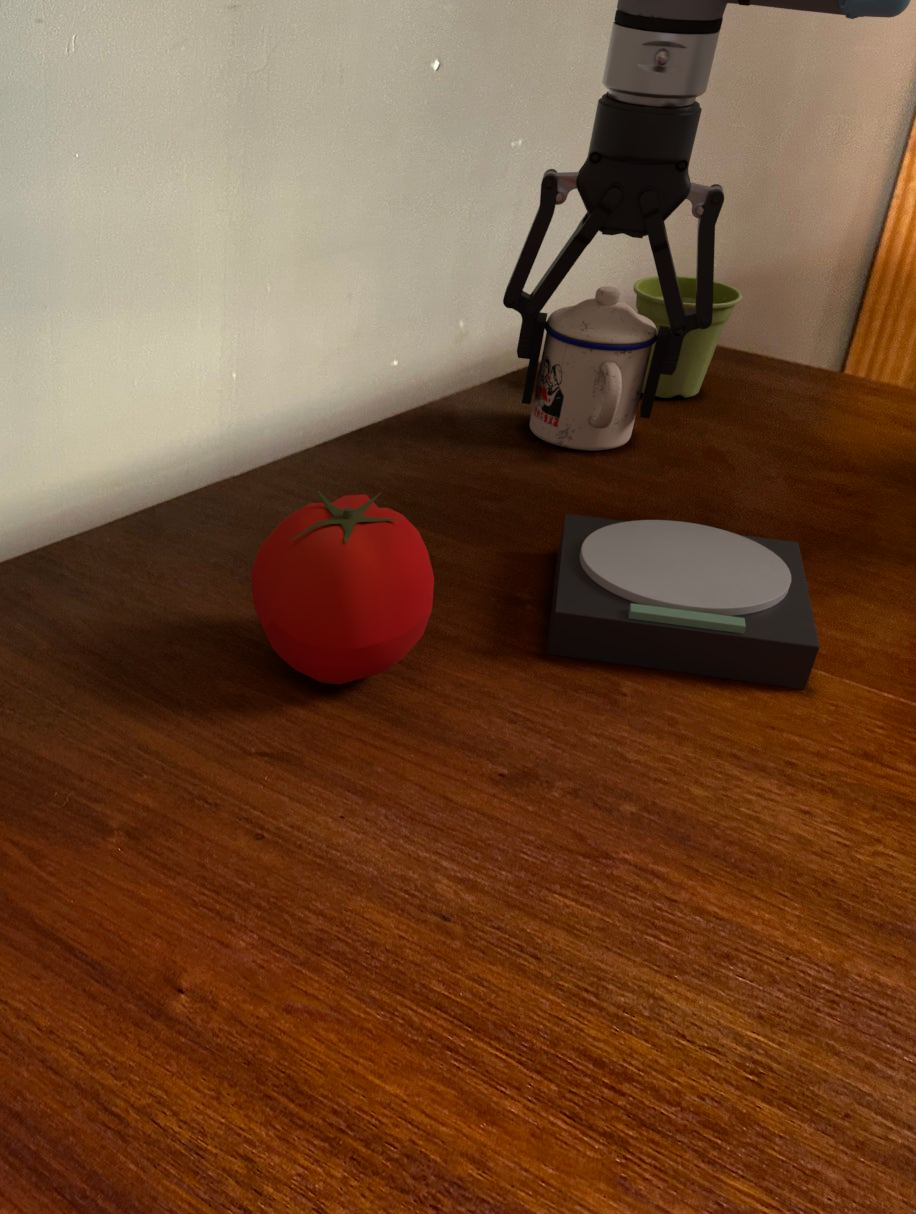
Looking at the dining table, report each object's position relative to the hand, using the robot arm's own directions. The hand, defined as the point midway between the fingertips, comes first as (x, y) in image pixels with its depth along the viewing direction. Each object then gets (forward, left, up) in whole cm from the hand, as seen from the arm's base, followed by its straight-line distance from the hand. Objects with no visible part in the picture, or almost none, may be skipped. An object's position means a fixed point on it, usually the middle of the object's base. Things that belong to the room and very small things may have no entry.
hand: (585, 405), depth 119 cm
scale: (-7, +32, -3) cm, 33 cm away
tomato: (+14, +45, -3) cm, 47 cm away
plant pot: (-7, -16, -3) cm, 18 cm away
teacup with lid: (0, 0, -3) cm, 3 cm away
